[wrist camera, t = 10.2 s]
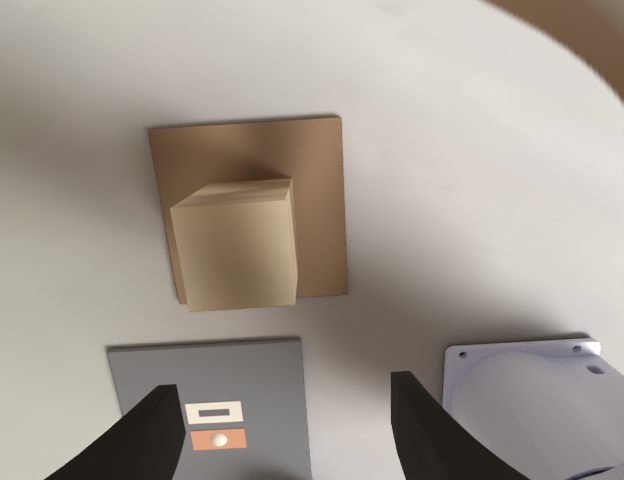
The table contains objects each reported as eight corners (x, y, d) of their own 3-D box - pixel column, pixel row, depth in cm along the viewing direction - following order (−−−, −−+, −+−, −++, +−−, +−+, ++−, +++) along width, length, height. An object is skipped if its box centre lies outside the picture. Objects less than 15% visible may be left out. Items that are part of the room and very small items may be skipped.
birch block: (291, 177, 20) (285, 200, 15) (298, 256, 22) (295, 304, 16) (208, 183, 21) (169, 208, 15) (220, 262, 22) (189, 312, 16)
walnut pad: (340, 117, 20) (341, 117, 20) (346, 291, 23) (347, 294, 23) (150, 129, 20) (147, 129, 20) (181, 301, 23) (179, 304, 23)
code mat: (300, 338, 24) (300, 342, 23) (312, 484, 27) (312, 490, 27) (110, 349, 24) (106, 353, 24) (146, 492, 28) (143, 499, 27)
